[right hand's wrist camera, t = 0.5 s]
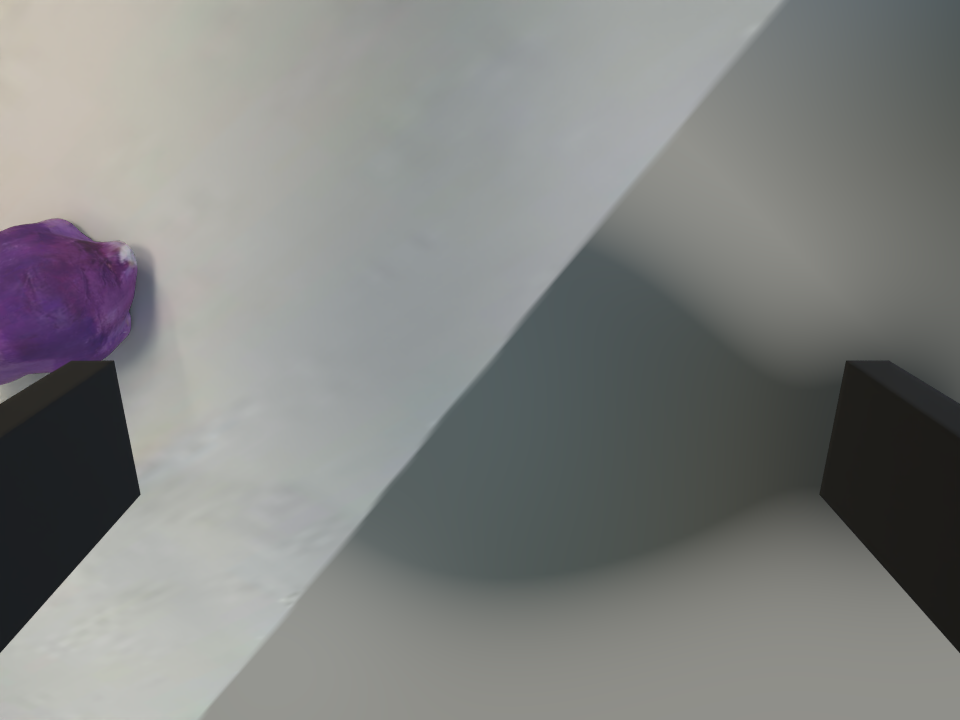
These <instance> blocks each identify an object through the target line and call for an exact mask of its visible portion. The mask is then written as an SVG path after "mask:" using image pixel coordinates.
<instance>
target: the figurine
mask: <svg viewBox="0 0 960 720" xmlns="http://www.w3.org/2000/svg"><path fill="white" fill-rule="evenodd" d="M136 277H137V261H136V258H135V255H134V253H133V251H132V250H131V248H130V246H128V245H127V244H126V243H124V242H122V241H111V242H94V241H92V240H91V239H90V238H88V237H86V236H85V235H84V234H83V233H81V232H80V231H79V230H78V229H77V228H76V227H75V226H74V225H73V224H71V223H70V222H68V221H66V220H63V219H49V220H45V221H41V222H39V223H33V224H25V225H19V226H13V227H10V228H8V229H5V230H3V231H1V232H0V385H2V384H6V383H9V382H12V381H14V380H16V379H19V378H21V377H23V376H25V375H27V374H34V373H48V372H50V373H52V372H53V371H55V370H57V369H58V368H60V367H62V366H63V365H65V364H66V363H68V362H70V361H101V360H103V359H104V358H106V357H107V356H108V355H109V354H110V353H111V352H112V351H113V350H114V349H115V348H116V347H117V346H118V345H119V344H120V343H121V342H122V341H123V340H124V339H125V338H126V337H127V336H128V334H129V332H130V329H131V316H130V313H129V309H130V307H131V304H132V301H133V298H134V292H135V285H136Z"/></svg>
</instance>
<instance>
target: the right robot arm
mask: <svg viewBox="0 0 960 720" xmlns="http://www.w3.org/2000/svg"><path fill="white" fill-rule="evenodd" d="M139 496H140V489H139V484H138V479H137V474H136V469H135V464H134V459H133V454H132V449H131V444H130V439H129V434H128V429H127V424H126V419H125V414H124V409H123V404H122V399H121V394H120V389H119V384H118V379H117V374H116V369H115V364H114V361H70V362H68V363H66V364H65V365H63V366H62V367H60V368H58V369H57V370H55V371H53V372H52V373H50V374H48V375H47V376H45V377H44V378H42V379H40V380H39V381H37V382H35V383H34V384H32V385H30V386H29V387H27V388H26V389H24V390H22V391H21V392H19V393H17V394H16V395H14V396H12V397H11V398H9V399H7V400H6V401H4V402H3V403H1V404H0V653H1V651H2V650H3V649H4V648H5V647H6V646H7V645H8V644H9V642H10V641H11V640H12V639H13V638H14V637H15V636H16V635H17V633H18V632H19V631H20V630H21V629H22V628H23V627H24V625H25V624H26V623H27V622H28V621H29V620H30V619H31V618H32V616H33V615H34V614H35V613H36V612H37V611H38V610H39V609H40V607H41V606H42V605H43V604H44V603H45V602H46V601H47V600H48V598H49V597H50V596H51V595H52V594H53V593H54V592H55V590H56V589H57V588H58V587H59V586H60V585H61V584H62V583H63V581H64V580H65V579H66V578H67V577H68V576H69V575H70V574H71V572H72V571H73V570H74V569H75V568H76V567H77V566H78V564H79V563H80V562H81V561H82V560H83V559H84V558H85V557H86V555H87V554H88V553H89V552H90V551H91V550H92V549H93V548H94V546H95V545H96V544H97V543H98V542H99V541H100V540H101V539H102V537H103V536H104V535H105V534H106V533H107V532H108V531H109V529H110V528H111V527H112V526H113V525H114V524H115V523H116V522H117V520H118V519H119V518H120V517H121V516H122V515H123V514H124V513H125V511H126V510H127V509H128V508H129V507H130V506H131V505H132V504H133V502H134V501H135V500H136V499H137V498H138V497H139ZM820 496H821V497H822V498H823V499H824V500H825V501H826V502H827V503H828V505H829V506H830V507H831V508H832V509H833V510H834V511H835V513H836V514H837V515H838V516H839V517H840V518H841V519H842V520H843V522H844V523H845V524H846V525H847V526H848V527H849V528H850V529H851V531H852V532H853V533H854V534H855V535H856V536H857V537H858V539H859V540H860V541H861V542H862V543H863V544H864V545H865V546H866V548H867V549H868V550H869V551H870V552H871V553H872V554H873V555H874V557H875V558H876V559H877V560H878V561H879V562H880V563H881V564H882V566H883V567H884V568H885V569H886V570H887V571H888V572H889V574H890V575H891V576H892V577H893V578H894V579H895V580H896V581H897V583H898V584H899V585H900V586H901V587H902V588H903V589H904V590H905V592H906V593H907V594H908V595H909V596H910V597H911V598H912V599H913V601H914V602H915V603H916V604H917V605H918V606H919V607H920V609H921V610H922V611H923V612H924V613H925V614H926V615H927V616H928V618H929V619H930V620H931V621H932V622H933V623H934V624H935V625H936V627H937V628H938V629H939V630H940V631H941V632H942V633H943V634H944V636H945V637H946V638H947V639H948V640H949V641H950V642H951V643H952V645H953V646H954V647H955V648H956V649H957V650H958V651H959V653H960V404H959V403H957V402H956V401H954V400H952V399H951V398H949V397H948V396H946V395H944V394H943V393H941V392H939V391H938V390H936V389H934V388H933V387H931V386H930V385H928V384H926V383H925V382H923V381H921V380H920V379H918V378H916V377H915V376H913V375H911V374H910V373H908V372H907V371H905V370H903V369H902V368H900V367H898V366H897V365H895V364H893V363H892V362H890V361H846V364H845V369H844V374H843V379H842V384H841V389H840V394H839V399H838V404H837V409H836V414H835V419H834V424H833V429H832V435H831V439H830V444H829V449H828V454H827V459H826V465H825V469H824V474H823V479H822V484H821V490H820Z"/></svg>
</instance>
